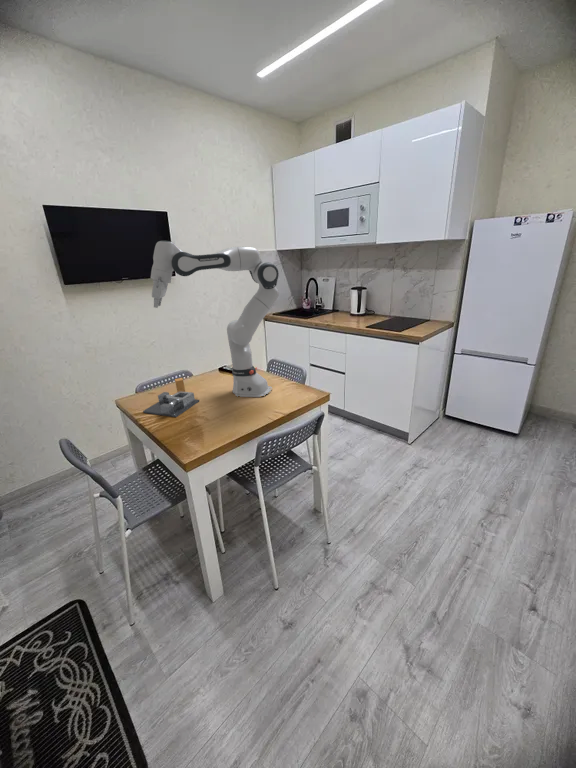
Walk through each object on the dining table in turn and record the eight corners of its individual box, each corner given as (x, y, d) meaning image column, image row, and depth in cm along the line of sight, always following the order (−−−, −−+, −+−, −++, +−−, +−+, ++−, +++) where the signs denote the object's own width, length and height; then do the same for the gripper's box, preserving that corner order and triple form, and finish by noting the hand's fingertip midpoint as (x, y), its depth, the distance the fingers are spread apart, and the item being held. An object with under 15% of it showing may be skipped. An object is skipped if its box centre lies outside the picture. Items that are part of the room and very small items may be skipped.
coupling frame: (199, 401, 168) (197, 391, 166) (176, 417, 151) (174, 406, 149) (168, 397, 175) (166, 388, 173) (143, 412, 158) (141, 402, 156)
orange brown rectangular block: (184, 392, 181) (182, 377, 178) (185, 394, 178) (183, 379, 174) (177, 393, 180) (174, 379, 176) (178, 396, 176) (175, 381, 173)
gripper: (165, 279, 139) (161, 310, 142) (170, 278, 157) (166, 306, 161) (150, 275, 137) (146, 307, 140) (156, 275, 155) (153, 303, 159)
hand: (157, 306), depth 151 cm, fingers open, 8 cm apart
